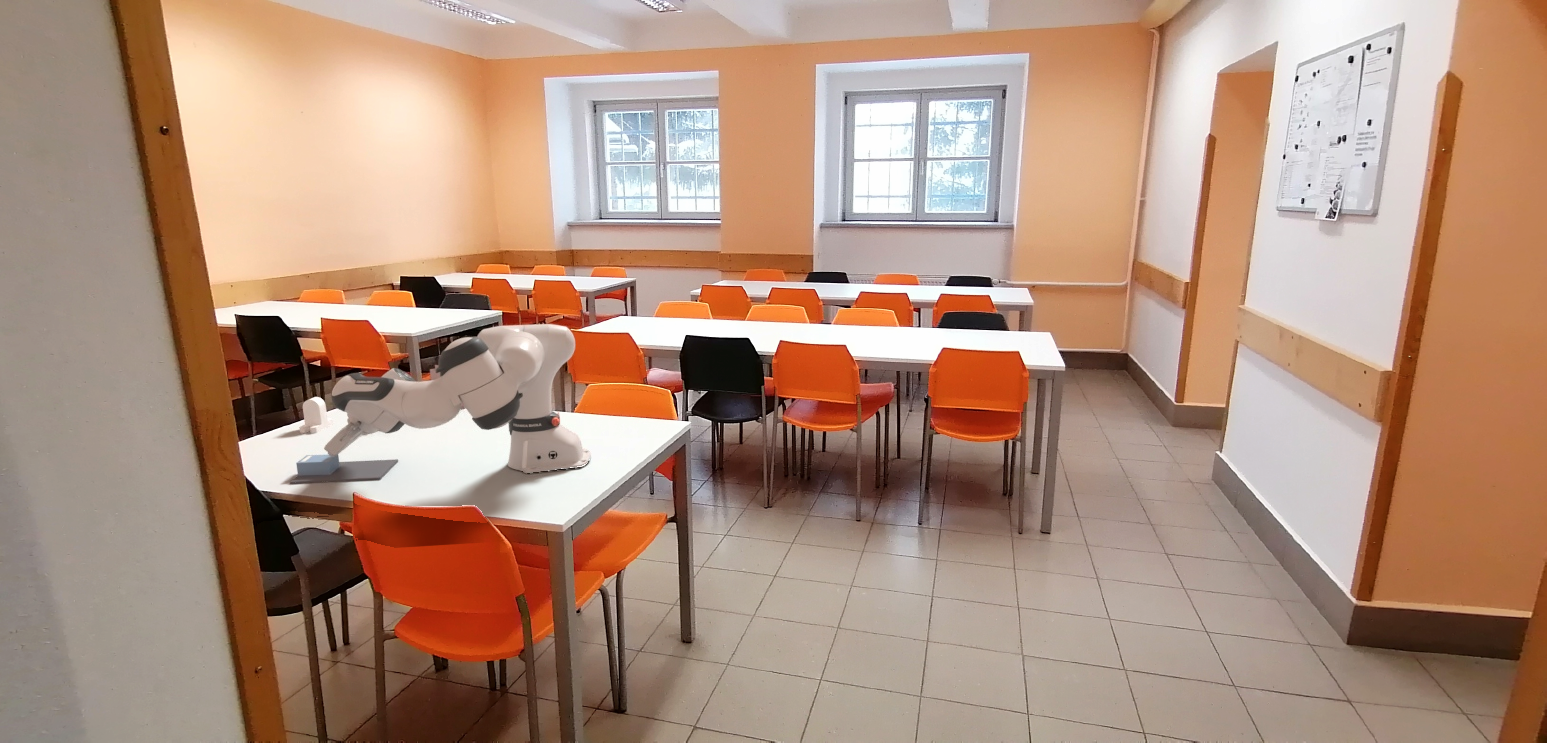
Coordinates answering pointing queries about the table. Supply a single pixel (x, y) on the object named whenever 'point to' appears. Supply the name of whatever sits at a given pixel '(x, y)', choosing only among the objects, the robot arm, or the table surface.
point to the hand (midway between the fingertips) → (331, 453)
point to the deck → (317, 465)
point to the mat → (351, 472)
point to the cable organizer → (315, 416)
